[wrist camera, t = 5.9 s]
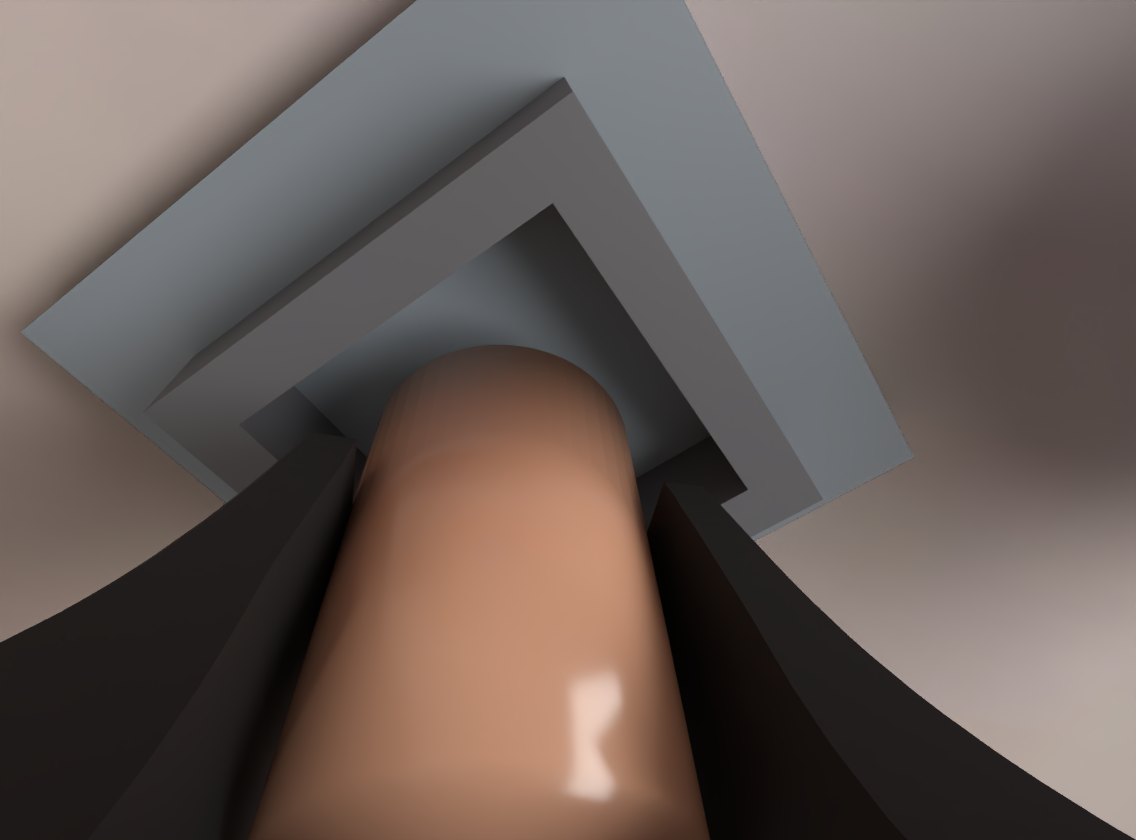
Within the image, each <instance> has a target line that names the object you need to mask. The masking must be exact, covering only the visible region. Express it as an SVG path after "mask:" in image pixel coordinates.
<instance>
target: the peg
mask: <svg viewBox="0 0 1136 840" xmlns="http://www.w3.org/2000/svg"><path fill="white" fill-rule="evenodd" d="M247 840H710V837H709V832H708V827H707V822H706V817H705V812H704V807H703V803H702V798H701V793H700V788H699V783H698V778H697V774H696V769H695V764H694V759H693V754H692V749H691V744H690V740H689V735H688V730H687V725H686V720H685V715H684V711H683V706H682V701H681V696H680V691H679V686H678V681H677V677H676V672H675V667H674V662H673V657H672V652H671V648H670V643H669V638H668V633H667V628H666V623H665V618H664V614H663V609H662V604H661V599H660V594H659V589H658V585H657V580H656V575H655V570H654V565H653V560H652V555H651V551H650V546H649V541H648V536H647V531H646V526H645V522H644V517H643V512H642V507H641V502H640V497H639V492H638V488H637V483H636V478H635V473H634V468H633V463H632V459H631V454H630V449H629V444H628V439H627V434H626V429H625V425H624V422H623V420H622V417H621V414H620V412H619V410H618V408H617V406H616V405H615V403H614V401H613V399H612V398H611V397H610V395H609V394H608V393H607V392H606V390H605V389H604V388H603V387H602V386H601V385H600V384H599V383H598V382H597V381H596V380H595V379H594V378H593V377H592V376H591V375H589V374H588V373H586V372H585V371H584V370H582V369H581V368H580V367H578V366H576V365H574V364H573V363H571V362H569V361H567V360H565V359H563V358H561V357H558V356H556V355H553V354H551V353H548V352H545V351H541V350H537V349H534V348H529V347H522V346H515V345H486V346H476V347H471V348H466V349H462V350H458V351H455V352H452V353H449V354H446V355H443V356H441V357H439V358H437V359H435V360H433V361H431V362H429V363H427V364H426V365H424V366H423V367H421V368H420V369H418V370H417V371H415V372H414V373H412V374H411V375H410V376H409V377H408V378H407V379H406V380H405V381H403V382H402V383H401V385H400V386H399V387H398V388H397V389H396V391H395V392H394V393H393V394H392V396H391V397H390V399H389V401H388V402H387V404H386V406H385V407H384V410H383V412H382V415H381V417H380V420H379V423H378V426H377V429H376V432H375V435H374V439H373V442H372V445H371V448H370V451H369V455H368V458H367V461H366V464H365V467H364V470H363V474H362V477H361V480H360V483H359V486H358V489H357V493H356V496H355V499H354V502H353V505H352V509H351V512H350V515H349V518H348V521H347V524H346V528H345V531H344V534H343V537H342V540H341V544H340V547H339V550H338V553H337V556H336V559H335V563H334V566H333V569H332V572H331V575H330V579H329V582H328V585H327V588H326V591H325V594H324V598H323V601H322V604H321V607H320V610H319V613H318V617H317V620H316V623H315V626H314V629H313V633H312V636H311V639H310V642H309V645H308V648H307V652H306V655H305V658H304V661H303V664H302V668H301V671H300V674H299V677H298V680H297V683H296V687H295V690H294V693H293V696H292V699H291V703H290V706H289V709H288V712H287V715H286V718H285V722H284V725H283V728H282V731H281V734H280V737H279V741H278V744H277V747H276V750H275V753H274V757H273V760H272V763H271V766H270V769H269V772H268V776H267V779H266V782H265V785H264V788H263V792H262V795H261V798H260V801H259V804H258V807H257V811H256V814H255V817H254V820H253V823H252V826H251V830H250V833H249V836H248V839H247Z"/></svg>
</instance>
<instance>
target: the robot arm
mask: <svg viewBox="0 0 1136 840" xmlns="http://www.w3.org/2000/svg"><path fill="white" fill-rule="evenodd" d="M356 447H357V439H353V438H346V437H339V436H331V435H324V434H317V433H311V434H310V435H308V436H307V437H305V438H304V439H303V440H301V441H300V442H299V443H298V444H297V445H296V446H295V447H293V448H292V449H291V450H290V451H289V452H288V453H287V454H285V455H284V456H283V457H282V458H281V459H280V460H278V461H277V462H276V463H275V464H274V465H273V466H271V467H270V468H269V469H268V470H267V471H266V472H264V473H263V474H262V475H261V476H260V477H258V478H257V479H256V480H255V481H254V482H252V483H251V484H250V485H249V486H247V487H246V488H245V489H244V490H242V491H241V492H240V493H239V494H237V495H236V496H235V497H233V498H232V499H231V500H230V501H228V502H227V503H226V504H225V505H223V506H222V507H221V508H220V509H218V510H217V511H216V512H214V513H213V514H212V515H210V516H209V517H208V518H206V519H205V520H204V521H202V522H201V523H200V524H198V525H197V526H195V527H194V528H193V529H191V530H190V531H188V532H187V533H185V534H184V535H183V536H181V537H180V538H178V539H177V540H176V541H174V542H173V543H171V544H170V545H168V546H167V547H166V548H164V549H163V550H161V551H160V552H158V553H157V554H156V555H154V556H153V557H151V558H150V559H148V560H147V561H145V562H144V563H142V564H140V565H139V566H137V567H136V568H134V569H133V570H131V571H130V572H128V573H126V574H125V575H123V576H122V577H120V578H118V579H117V580H115V581H114V582H112V583H110V584H109V585H107V586H105V587H104V588H102V589H100V590H98V591H97V592H95V593H93V594H92V595H90V596H88V597H87V598H85V599H83V600H81V601H80V602H78V603H76V604H74V605H73V606H71V607H69V608H67V609H65V610H63V611H62V612H60V613H58V614H56V615H54V616H52V617H50V618H48V619H46V620H44V621H42V622H40V623H38V624H36V625H34V626H32V627H30V628H28V629H26V630H24V631H22V632H20V633H18V634H16V635H14V636H13V637H11V638H9V639H7V640H5V641H3V642H1V643H0V840H247V839H248V836H249V833H250V830H251V826H252V823H253V820H254V817H255V814H256V811H257V807H258V804H259V801H260V798H261V795H262V792H263V788H264V785H265V782H266V779H267V776H268V772H269V769H270V766H271V763H272V760H273V757H274V753H275V750H276V747H277V744H278V741H279V737H280V734H281V731H282V728H283V725H284V722H285V718H286V715H287V712H288V709H289V706H290V703H291V699H292V696H293V693H294V690H295V687H296V683H297V680H298V677H299V674H300V671H301V668H302V664H303V661H304V658H305V655H306V652H307V648H308V645H309V642H310V639H311V636H312V633H313V629H314V626H315V623H316V620H317V617H318V613H319V610H320V607H321V604H322V601H323V598H324V594H325V591H326V588H327V585H328V582H329V579H330V575H331V572H332V569H333V566H334V563H335V559H336V556H337V553H338V550H339V547H340V544H341V540H342V537H343V534H344V531H345V528H346V524H347V521H348V518H349V515H350V512H351V509H352V505H353V490H354V476H355V462H356ZM647 536H648V541H649V546H650V551H651V555H652V560H653V565H654V570H655V575H656V580H657V585H658V589H659V594H660V599H661V604H662V609H663V614H664V618H665V623H666V628H667V633H668V638H669V643H670V648H671V652H672V657H673V662H674V667H675V672H676V677H677V681H678V686H679V691H680V696H681V701H682V706H683V711H684V715H685V720H686V725H687V730H688V735H689V740H690V744H691V749H692V754H693V759H694V764H695V769H696V774H697V778H698V783H699V788H700V793H701V798H702V803H703V807H704V812H705V817H706V822H707V827H708V832H709V837H710V840H1135V839H1134V838H1132V837H1130V836H1128V835H1127V834H1125V833H1123V832H1121V831H1119V830H1118V829H1116V828H1114V827H1113V826H1111V825H1109V824H1108V823H1106V822H1104V821H1103V820H1101V819H1099V818H1098V817H1096V816H1095V815H1093V814H1092V813H1090V812H1088V811H1087V810H1085V809H1084V808H1082V807H1080V806H1079V805H1077V804H1076V803H1074V802H1072V801H1071V800H1069V799H1068V798H1066V797H1064V796H1063V795H1061V794H1060V793H1058V792H1057V791H1055V790H1053V789H1052V788H1050V787H1049V786H1047V785H1045V784H1044V783H1042V782H1041V781H1039V780H1038V779H1036V778H1035V777H1033V776H1032V775H1030V774H1029V773H1027V772H1026V771H1024V770H1023V769H1021V768H1020V767H1018V766H1017V765H1015V764H1014V763H1012V762H1011V761H1009V760H1008V759H1006V758H1005V757H1003V756H1002V755H1000V754H999V753H997V752H996V751H994V750H993V749H992V748H990V747H989V746H987V745H986V744H985V743H983V742H982V741H980V740H979V739H978V738H976V737H975V736H974V735H972V734H971V733H969V732H968V731H967V730H965V729H964V728H962V727H961V726H960V725H958V724H957V723H955V722H954V721H953V720H951V719H950V718H948V717H947V716H946V715H944V714H943V713H942V712H940V711H939V710H938V709H936V708H935V707H934V706H933V705H931V704H930V703H929V702H927V701H926V700H925V699H923V698H922V697H921V696H919V695H918V694H917V693H916V692H914V691H913V690H912V689H911V688H909V687H908V686H907V685H906V684H905V683H903V682H902V681H901V680H900V679H899V678H897V677H896V676H895V675H894V674H892V673H891V672H890V671H889V670H888V669H886V668H885V667H884V666H883V665H882V664H880V663H879V662H878V661H877V660H875V659H874V658H873V657H872V656H871V655H870V654H868V653H867V652H866V651H865V650H864V649H863V648H862V647H860V646H859V645H858V644H857V643H856V642H855V641H854V640H853V639H851V638H850V637H849V636H848V635H847V634H846V633H845V632H844V631H843V630H842V629H841V628H840V627H839V626H837V625H836V624H835V623H834V622H833V621H832V620H831V619H830V618H829V617H828V616H827V615H826V614H825V613H824V612H823V611H822V610H821V609H819V608H818V607H817V606H816V605H815V604H814V603H813V602H812V601H811V600H810V599H809V598H808V597H807V596H806V595H805V594H804V593H803V592H802V591H801V590H800V589H799V588H798V587H797V586H796V585H795V584H794V583H793V582H792V581H791V580H790V579H789V578H788V577H787V576H786V575H785V573H784V572H783V571H782V570H781V569H780V568H779V567H778V566H777V565H776V564H775V563H774V562H773V561H772V560H771V559H770V558H769V557H768V556H767V554H766V553H765V552H764V551H763V550H762V549H761V548H760V547H759V546H758V545H757V544H756V543H755V542H754V540H753V539H752V538H751V537H750V536H749V535H748V534H747V533H746V532H745V531H744V530H743V528H742V527H741V526H740V525H739V524H738V523H737V522H736V521H735V520H734V519H733V518H732V517H731V515H730V514H729V513H728V512H727V511H726V510H725V509H724V508H723V507H722V506H721V505H720V504H719V503H718V502H717V500H716V499H715V498H714V497H713V496H712V495H711V494H710V493H709V492H708V491H706V490H705V489H704V488H703V487H699V486H692V485H685V484H677V483H670V482H664V483H663V486H662V489H661V492H660V495H659V498H658V501H657V504H656V507H655V510H654V513H653V516H652V519H651V522H650V525H649V528H648V531H647Z"/></svg>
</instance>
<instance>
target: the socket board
mask: <svg viewBox="0 0 1136 840" xmlns="http://www.w3.org/2000/svg"><path fill="white" fill-rule="evenodd" d="M20 333H22V334H23V335H24V336H25V337H26V338H28V339H29V340H30V341H31V342H32V343H34V344H35V345H36V346H37V347H39V348H40V349H41V350H42V351H43V352H45V353H46V354H47V355H48V356H49V357H51V358H52V359H53V360H54V361H55V362H57V363H58V364H59V365H60V366H61V367H63V368H64V369H65V370H66V371H67V372H69V373H70V374H71V375H72V376H73V377H75V378H76V379H77V380H78V381H79V382H81V383H82V384H83V385H84V386H85V387H87V388H88V389H89V390H90V391H91V392H93V393H94V394H95V395H96V396H97V397H99V398H100V399H101V400H102V401H104V402H105V403H106V404H107V405H108V406H110V407H111V408H112V409H113V410H114V411H116V412H117V413H118V414H119V415H120V416H122V417H123V418H124V419H125V420H126V421H128V422H129V423H130V424H131V425H132V426H134V427H135V428H136V429H137V430H138V431H140V432H141V433H142V434H143V435H144V436H146V437H147V438H148V439H149V440H150V441H152V442H153V443H154V444H155V445H156V446H158V447H159V448H160V449H161V450H162V451H164V452H165V453H166V454H167V455H169V456H170V457H171V458H172V459H173V460H175V461H176V462H177V463H178V464H179V465H181V466H182V467H183V468H184V469H185V470H187V471H188V472H189V473H190V474H191V475H193V476H194V477H195V478H196V479H197V480H199V481H200V482H201V483H202V484H203V485H205V486H206V487H207V488H208V489H209V490H211V491H212V492H213V493H214V494H215V495H217V496H218V497H219V498H220V499H221V500H223V501H224V502H225V503H227V502H228V501H230V500H231V499H232V498H233V497H235V496H236V495H237V494H239V493H240V492H241V491H242V490H244V489H245V488H246V487H247V486H249V485H250V484H251V483H252V482H254V481H255V480H256V479H257V478H258V477H260V476H261V475H262V474H263V473H264V472H266V471H267V470H268V469H269V468H270V467H271V466H273V465H274V464H275V463H276V462H277V461H278V460H280V459H281V458H282V457H283V456H284V455H285V454H287V453H288V452H289V451H290V450H291V449H292V448H293V447H295V446H296V445H297V444H298V443H299V442H300V441H301V440H303V439H304V438H305V437H307V436H308V435H310V434H311V433H317V434H324V435H331V436H339V437H346V438H353V439H357V447H356V462H355V476H354V490H353V502H354V499H355V496H356V493H357V489H358V486H359V483H360V480H361V477H362V474H363V470H364V467H365V464H366V461H367V458H368V455H369V451H370V448H371V445H372V442H373V439H374V435H375V432H376V429H377V426H378V423H379V420H380V417H381V415H382V412H383V410H384V407H385V406H386V404H387V402H388V401H389V399H390V397H391V396H392V394H393V393H394V392H395V391H396V389H397V388H398V387H399V386H400V385H401V383H402V382H403V381H405V380H406V379H407V378H408V377H409V376H410V375H411V374H412V373H414V372H415V371H417V370H418V369H420V368H421V367H423V366H424V365H426V364H427V363H429V362H431V361H433V360H435V359H437V358H439V357H441V356H443V355H446V354H449V353H452V352H455V351H458V350H462V349H466V348H471V347H476V346H486V345H515V346H522V347H529V348H534V349H537V350H541V351H545V352H548V353H551V354H553V355H556V356H558V357H561V358H563V359H565V360H567V361H569V362H571V363H573V364H574V365H576V366H578V367H580V368H581V369H582V370H584V371H585V372H586V373H588V374H589V375H591V376H592V377H593V378H594V379H595V380H596V381H597V382H598V383H599V384H600V385H601V386H602V387H603V388H604V389H605V390H606V392H607V393H608V394H609V395H610V397H611V398H612V399H613V401H614V403H615V405H616V406H617V408H618V410H619V412H620V414H621V417H622V420H623V422H624V425H625V429H626V434H627V439H628V444H629V449H630V454H631V459H632V463H633V468H634V473H635V478H636V483H637V488H638V492H639V497H640V502H641V507H642V512H643V517H644V522H645V526H646V531H648V528H649V525H650V522H651V519H652V516H653V513H654V510H655V507H656V504H657V501H658V498H659V495H660V492H661V489H662V486H663V483H664V482H670V483H677V484H685V485H692V486H699V487H703V488H704V489H705V490H706V491H708V492H709V493H710V494H711V495H712V496H713V497H714V498H715V499H716V500H717V502H718V503H719V504H720V505H721V506H722V507H723V508H724V509H725V510H726V511H727V512H728V513H729V514H730V515H731V517H732V518H733V519H734V520H735V521H736V522H737V523H738V524H739V525H740V526H741V527H742V528H743V530H744V531H745V532H746V533H747V534H748V535H749V536H750V537H751V538H752V539H753V540H754V541H755V540H757V539H759V538H761V537H763V536H765V535H766V534H768V533H770V532H772V531H774V530H776V529H778V528H780V527H782V526H784V525H786V524H787V523H789V522H791V521H793V520H795V519H797V518H799V517H801V516H803V515H805V514H807V513H809V512H810V511H812V510H814V509H816V508H818V507H820V506H822V505H824V504H826V503H828V502H830V501H832V500H833V499H835V498H837V497H839V496H841V495H843V494H845V493H847V492H849V491H851V490H853V489H855V488H856V487H858V486H860V485H862V484H864V483H866V482H868V481H870V480H872V479H874V478H876V477H878V476H879V475H881V474H883V473H885V472H887V471H889V470H891V469H893V468H895V467H897V466H899V465H901V464H902V463H904V462H906V461H908V460H910V459H912V458H914V455H913V453H912V451H911V449H910V447H909V445H908V443H907V441H906V439H905V437H904V435H903V433H902V431H901V429H900V427H899V426H898V424H897V422H896V420H895V418H894V416H893V414H892V412H891V410H890V408H889V406H888V404H887V402H886V400H885V398H884V396H883V394H882V392H881V390H880V388H879V386H878V384H877V382H876V380H875V378H874V376H873V374H872V372H871V370H870V368H869V366H868V364H867V362H866V360H865V358H864V356H863V354H862V352H861V350H860V348H859V346H858V344H857V342H856V340H855V338H854V336H853V334H852V332H851V330H850V328H849V326H848V324H847V322H846V320H845V318H844V317H843V315H842V313H841V311H840V309H839V307H838V305H837V303H836V301H835V299H834V297H833V295H832V293H831V291H830V289H829V287H828V285H827V283H826V281H825V279H824V277H823V275H822V273H821V271H820V269H819V267H818V265H817V263H816V261H815V259H814V257H813V255H812V253H811V251H810V249H809V247H808V245H807V243H806V241H805V239H804V237H803V235H802V233H801V231H800V229H799V227H798V225H797V223H796V221H795V219H794V217H793V215H792V213H791V211H790V209H789V207H788V206H787V204H786V202H785V200H784V198H783V196H782V194H781V192H780V190H779V188H778V186H777V184H776V182H775V180H774V178H773V176H772V174H771V172H770V170H769V168H768V166H767V164H766V162H765V160H764V158H763V156H762V154H761V152H760V150H759V148H758V146H757V144H756V142H755V140H754V138H753V136H752V134H751V132H750V130H749V128H748V126H747V124H746V122H745V120H744V118H743V116H742V114H741V112H740V110H739V108H738V106H737V104H736V102H735V100H734V98H733V97H732V95H731V93H730V91H729V89H728V87H727V85H726V83H725V81H724V79H723V77H722V75H721V73H720V71H719V69H718V67H717V65H716V63H715V61H714V59H713V57H712V55H711V53H710V51H709V49H708V47H707V45H706V43H705V41H704V39H703V37H702V35H701V33H700V31H699V29H698V27H697V25H696V23H695V21H694V19H693V17H692V15H691V13H690V11H689V9H688V7H687V5H686V3H685V1H684V0H416V1H415V2H414V3H413V4H412V5H410V6H409V7H408V8H407V9H406V10H404V11H403V12H402V13H401V14H400V15H398V16H397V17H396V18H395V19H394V20H393V21H391V22H390V23H389V24H388V25H387V26H385V27H384V28H383V29H382V30H381V31H379V32H378V33H377V34H376V35H375V36H373V37H372V38H371V39H370V40H369V41H367V42H366V43H365V44H364V45H363V46H361V47H360V48H359V49H358V50H357V51H356V52H354V53H353V54H352V55H351V56H350V57H348V58H347V59H346V60H345V61H344V62H342V63H341V64H340V65H339V66H338V67H336V68H335V69H334V70H333V71H332V72H330V73H329V74H328V75H327V76H326V77H324V78H323V79H322V80H321V81H320V82H319V83H317V84H316V85H315V86H314V87H313V88H311V89H310V90H309V91H308V92H307V93H305V94H304V95H303V96H302V97H301V98H299V99H298V100H297V101H296V102H295V103H293V104H292V105H291V106H290V107H289V108H287V109H286V110H285V111H284V112H283V113H282V114H280V115H279V116H278V117H277V118H276V119H274V120H273V121H272V122H271V123H270V124H268V125H267V126H266V127H265V128H264V129H262V130H261V131H260V132H259V133H258V134H256V135H255V136H254V137H253V138H252V139H250V140H249V141H248V142H247V143H246V144H245V145H243V146H242V147H241V148H240V149H239V150H237V151H236V152H235V153H234V154H233V155H231V156H230V157H229V158H228V159H227V160H225V161H224V162H223V163H222V164H221V165H219V166H218V167H217V168H216V169H215V170H213V171H212V172H211V173H210V174H209V175H208V176H206V177H205V178H204V179H203V180H202V181H200V182H199V183H198V184H197V185H196V186H194V187H193V188H192V189H191V190H190V191H188V192H187V193H186V194H185V195H184V196H182V197H181V198H180V199H179V200H178V201H177V202H175V203H174V204H173V205H172V206H171V207H169V208H168V209H167V210H166V211H165V212H163V213H162V214H161V215H160V216H159V217H157V218H156V219H155V220H154V221H153V222H151V223H150V224H149V225H148V226H147V227H145V228H144V229H143V230H142V231H141V232H140V233H138V234H137V235H136V236H135V237H134V238H132V239H131V240H130V241H129V242H128V243H126V244H125V245H124V246H123V247H122V248H120V249H119V250H118V251H117V252H116V253H114V254H113V255H112V256H111V257H110V258H108V259H107V260H106V261H105V262H104V263H103V264H101V265H100V266H99V267H98V268H97V269H95V270H94V271H93V272H92V273H91V274H89V275H88V276H87V277H86V278H85V279H83V280H82V281H81V282H80V283H79V284H77V285H76V286H75V287H74V288H73V289H71V290H70V291H69V292H68V293H67V294H66V295H64V296H63V297H62V298H61V299H60V300H58V301H57V302H56V303H55V304H54V305H52V306H51V307H50V308H49V309H48V310H46V311H45V312H44V313H43V314H42V315H40V316H39V317H38V318H37V319H36V320H34V321H33V322H32V323H31V324H30V325H29V326H27V327H26V328H25V329H24V330H23V331H21V332H20Z"/></svg>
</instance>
